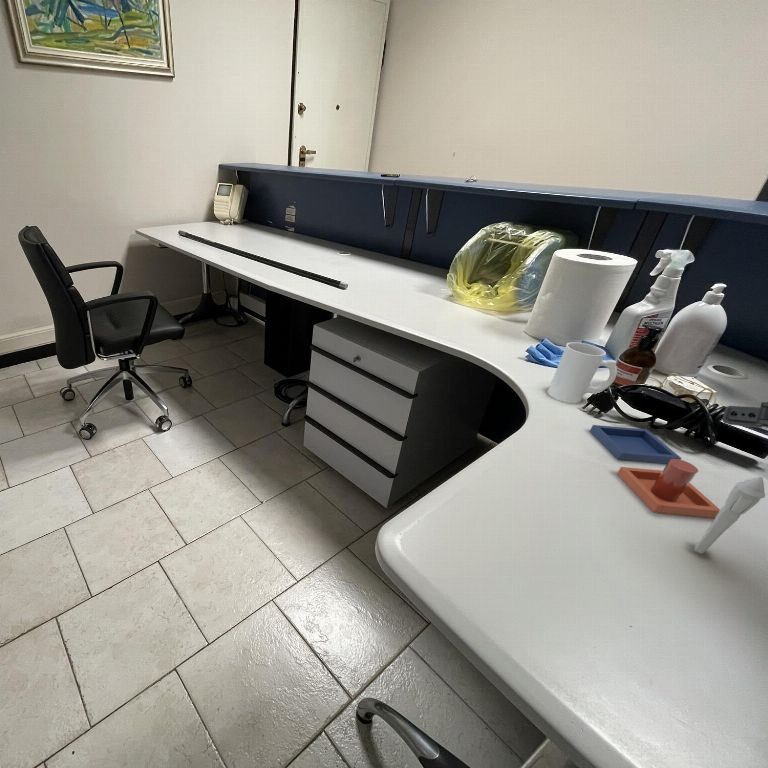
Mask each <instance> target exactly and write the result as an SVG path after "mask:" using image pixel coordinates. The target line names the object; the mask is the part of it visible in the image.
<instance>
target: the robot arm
mask: <svg viewBox="0 0 768 768" xmlns="http://www.w3.org/2000/svg"><path fill="white" fill-rule="evenodd" d="M723 411H724V412H723V415H722V418H721V421H722V423H724V424H726V425H729V426H737V427H738V426H739V427H747V428H748V427H749V428H758V429H766V430H767V431H768V401H767V402H765V401H764V402H763V401H762V402H761V403H760V407H755V406H754V407H753V406H741V405H728V406H726V407H725V408H724V410H723Z"/></svg>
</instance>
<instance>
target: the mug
mask: <svg viewBox="0 0 768 768" xmlns="http://www.w3.org/2000/svg"><path fill="white" fill-rule="evenodd" d="M606 354H607V352H606V351H605V350H604V349H602V348H600V347H598V346H596V345H593V344H589V343H585V342H575V341H573V342H568V343H566V346H565V347H564V350H563V353H562V355H561V358H560V360H559V362H558V365H557V367H556V370H555V372H554V375H553V377H552V380H551V382H550V385H549V387H548V390H547V394H548V395H549V396H550V397H552V399H555V400H558V401H559V402H564V403H567V404H568V403H569V404H578V403H581V401H582V399H583V397H584V395H585V394H592V395H596V394H597V393H600V392H601V393H602V392H603V391H605V390H606V389H608V388H609V387H610V386H612V384H613V383H614V381H615V380H616V377H617V372H618V371H617V360H613V359H608V360H606V359H604V357H605V356H606ZM600 367H605V368H607V369H608V370H609V376H608V378H607V379H606V380H605V382H604V383H602V384H600V385H598V386H593V385H592V384H591V382H592V380H593V378H594V376H595V374H596V373H597V370H598V369H599V368H600ZM601 393H600V394H601Z"/></svg>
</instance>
